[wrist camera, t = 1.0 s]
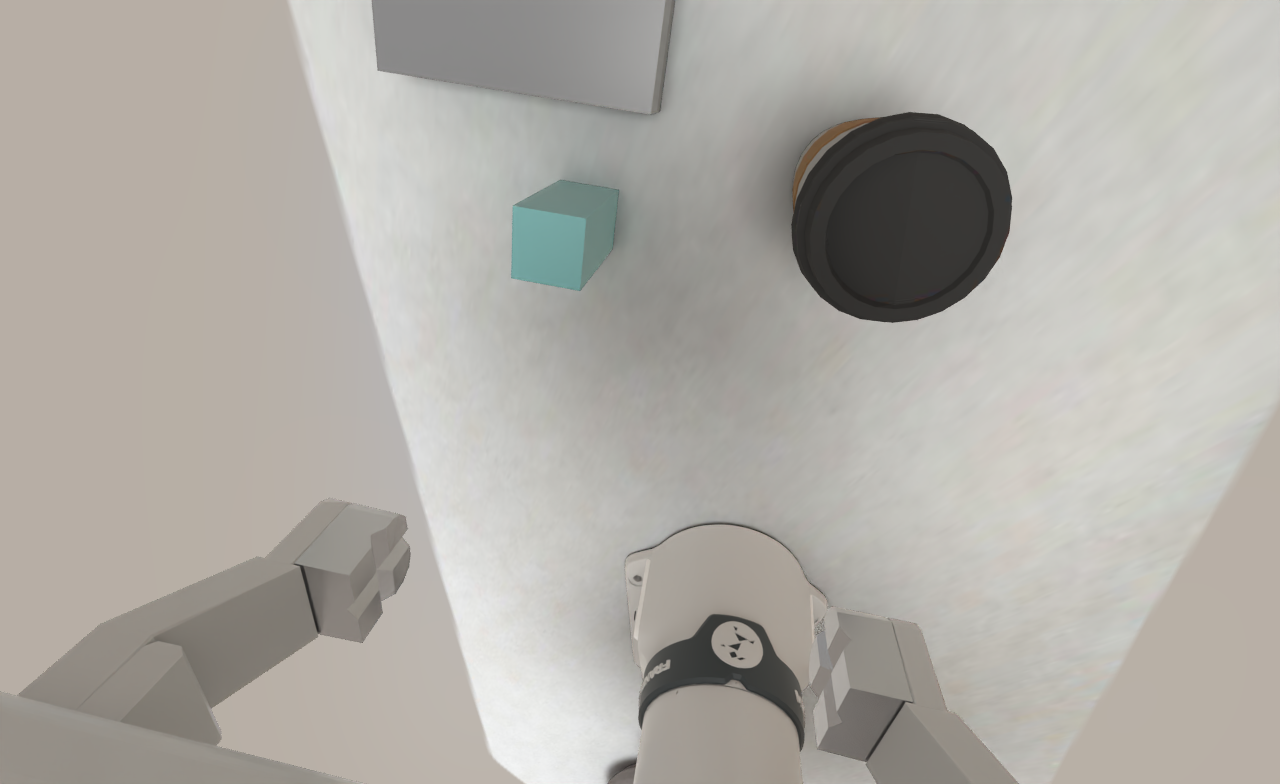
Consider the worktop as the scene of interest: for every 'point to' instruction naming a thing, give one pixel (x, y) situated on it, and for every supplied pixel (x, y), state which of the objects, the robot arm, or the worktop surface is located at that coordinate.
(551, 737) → the worktop surface
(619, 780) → the coffee pot
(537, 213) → the plug
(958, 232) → the coffee cup
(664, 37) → the socket
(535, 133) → the worktop surface
